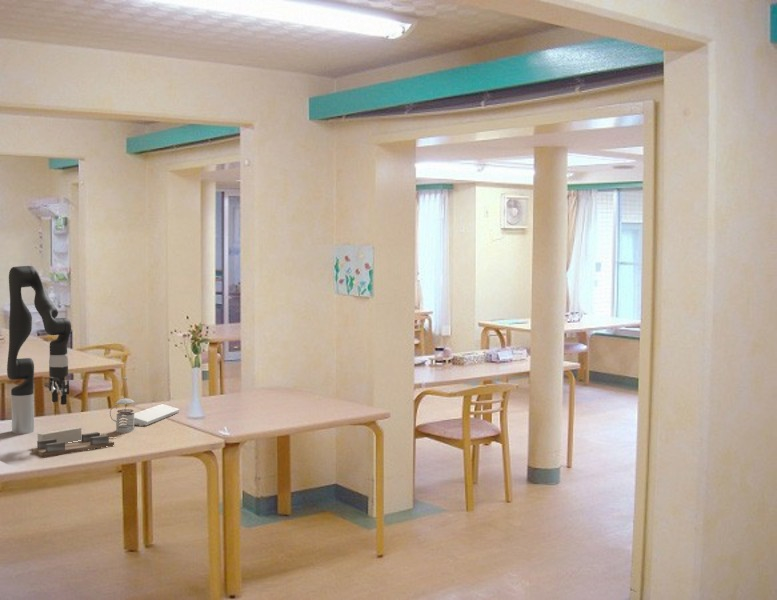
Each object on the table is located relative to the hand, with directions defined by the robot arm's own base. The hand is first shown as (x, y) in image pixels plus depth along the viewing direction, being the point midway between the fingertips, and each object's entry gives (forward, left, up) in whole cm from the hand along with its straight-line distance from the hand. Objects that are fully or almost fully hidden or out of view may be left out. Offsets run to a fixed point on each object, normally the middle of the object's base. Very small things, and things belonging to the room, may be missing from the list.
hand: (59, 403), depth 378 cm
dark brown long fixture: (+13, 0, -18) cm, 22 cm away
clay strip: (0, 0, -18) cm, 18 cm away
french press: (-5, +32, -18) cm, 37 cm away
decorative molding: (-16, +59, -17) cm, 64 cm away
